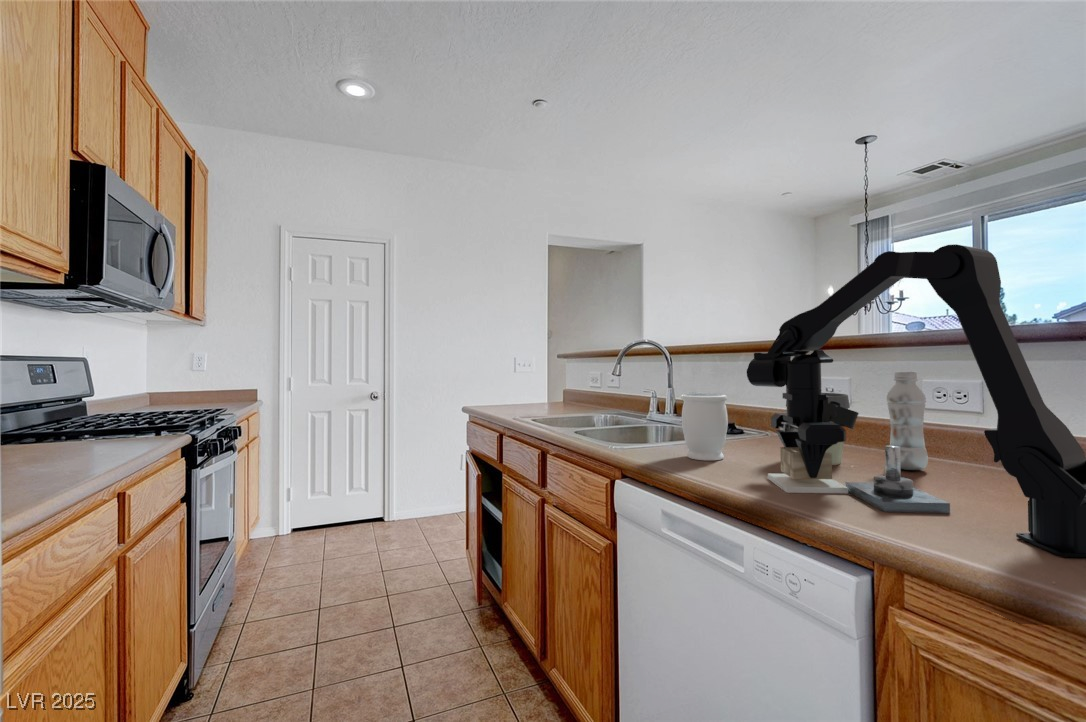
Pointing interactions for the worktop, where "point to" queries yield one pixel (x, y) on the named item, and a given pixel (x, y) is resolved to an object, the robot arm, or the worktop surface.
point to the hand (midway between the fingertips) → (805, 473)
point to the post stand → (896, 490)
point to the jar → (704, 425)
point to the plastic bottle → (907, 420)
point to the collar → (796, 467)
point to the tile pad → (807, 485)
